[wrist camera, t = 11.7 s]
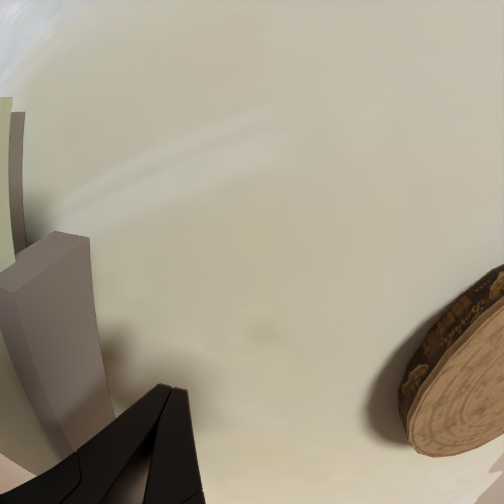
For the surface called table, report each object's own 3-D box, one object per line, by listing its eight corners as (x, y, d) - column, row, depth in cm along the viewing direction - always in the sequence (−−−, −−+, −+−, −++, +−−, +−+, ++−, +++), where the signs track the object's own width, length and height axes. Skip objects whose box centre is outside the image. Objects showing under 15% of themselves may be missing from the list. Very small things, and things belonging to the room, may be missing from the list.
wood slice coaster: (539, 199, 12) (572, 214, 9) (568, 335, 15) (585, 353, 12) (350, 378, 17) (359, 416, 14) (441, 447, 20) (449, 471, 17)
